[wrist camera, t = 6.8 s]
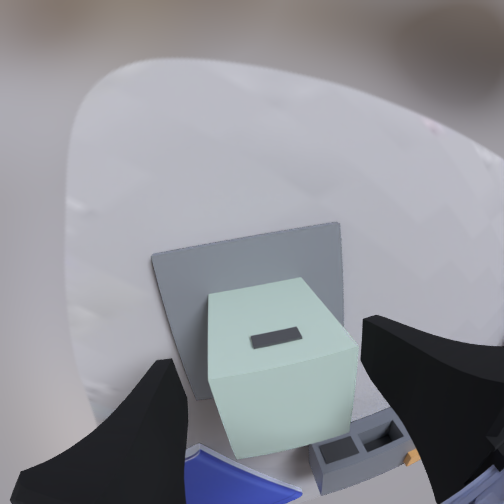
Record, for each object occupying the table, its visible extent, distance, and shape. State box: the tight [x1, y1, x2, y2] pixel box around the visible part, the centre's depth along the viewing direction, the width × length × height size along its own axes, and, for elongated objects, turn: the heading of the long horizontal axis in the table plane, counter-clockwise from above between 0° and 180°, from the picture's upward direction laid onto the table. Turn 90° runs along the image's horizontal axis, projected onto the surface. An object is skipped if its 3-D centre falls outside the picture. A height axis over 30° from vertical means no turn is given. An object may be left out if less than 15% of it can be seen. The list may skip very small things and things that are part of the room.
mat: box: [151, 222, 344, 400], centre depth 13 cm, size 8×8×1 cm
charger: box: [208, 277, 359, 459], centre depth 10 cm, size 4×6×6 cm
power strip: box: [309, 407, 421, 496], centre depth 15 cm, size 9×4×4 cm, turn 99°
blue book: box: [184, 443, 302, 504], centre depth 17 cm, size 2×8×12 cm
